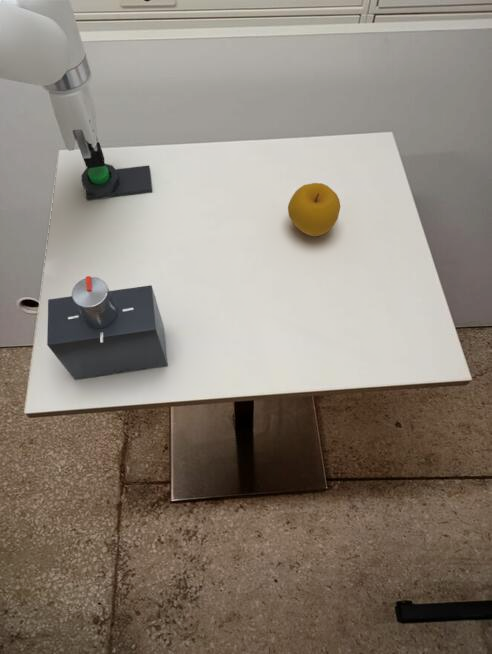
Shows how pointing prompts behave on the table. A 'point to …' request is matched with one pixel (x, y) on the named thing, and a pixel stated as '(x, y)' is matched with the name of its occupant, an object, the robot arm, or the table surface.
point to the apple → (314, 209)
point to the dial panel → (108, 336)
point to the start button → (99, 175)
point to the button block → (119, 182)
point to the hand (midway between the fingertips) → (95, 163)
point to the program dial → (94, 302)
